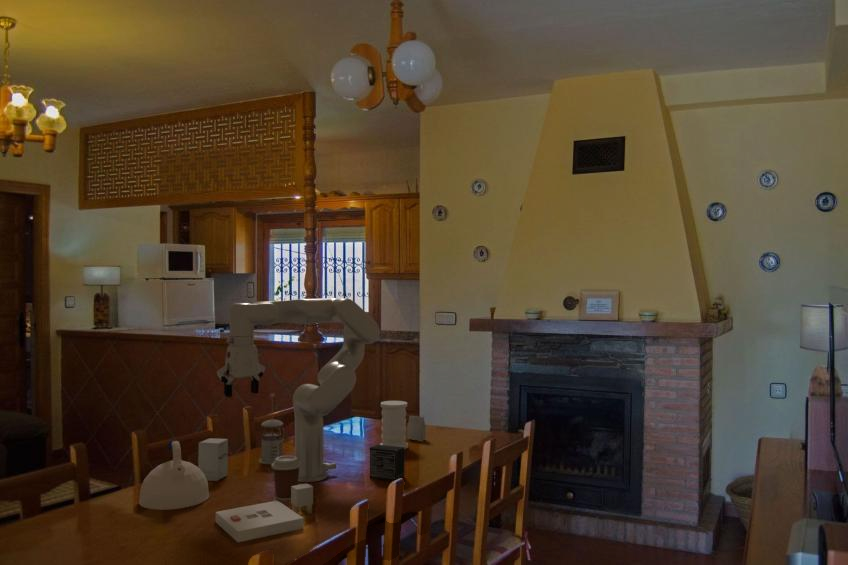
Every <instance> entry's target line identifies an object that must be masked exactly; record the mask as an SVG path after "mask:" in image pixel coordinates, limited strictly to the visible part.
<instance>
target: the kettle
mask: <svg viewBox="0 0 848 565" xmlns="http://www.w3.org/2000/svg"><path fill="white" fill-rule="evenodd" d="M167 450H169V451H172V458H171V460H169V461H166V462H163V463H161V464H158V465H157V466H156V467H155V468H153V469H152V470H151V471H150V472H149V473H148V475H146V476H145V478H144V480H143V482H142V484H141V487H140V492H139V500H138V505H139V506H140V507H141V508H144V509H147V508H148V510H155V511H156V510H157V511H165V510H166V511H171V510H179V509H181V510H182V509H185V508H186V507H187V508H190V506H191V507H195V506H197V505H201V504H202V503H204V502H206V501H207V500H209V498H210V493H209V483H208V480H207V479H206V477H205V475H204V473H203V472H202V471H201V470H200V469H199V468H198V466H197V465H195V464H193V463H192V462H189V461H185V460H182V450H181V444H180V441H179V440H177V439H171V440H170V441H169V442H168V443H167Z"/></svg>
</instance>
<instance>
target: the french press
mask: <svg viewBox="0 0 848 565" xmlns="http://www.w3.org/2000/svg"><path fill="white" fill-rule="evenodd" d="M275 395H276V394H275V393H270V395H269V397H270V398H271V419H267V420H264V421H263V422H261V424H260V425H261V426H262V427H263V428H271V432H267V433H266V432H265V433H263V434H262V438H261V453H260V454H261V458H260V459H259V460H258V463H260V464H264V465H272V463H274V461H275V458H277V457H280V456H284V455H283V450H284V448H283V444H284V443H283V442H284V440H285V436H283V433H281V428H282V430H283V432H285V429H284V427H283V425H284V422H282V421H281V420H279V419H274V418H273V417H274V416H273V415H274V414H273V412H274V411H273V408H274V407H273V406H274V405H273V404H274V402H273V399H274V397H275ZM273 428H276V430H279V432H273V431H274V430H273ZM282 436H283V437H282Z"/></svg>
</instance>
